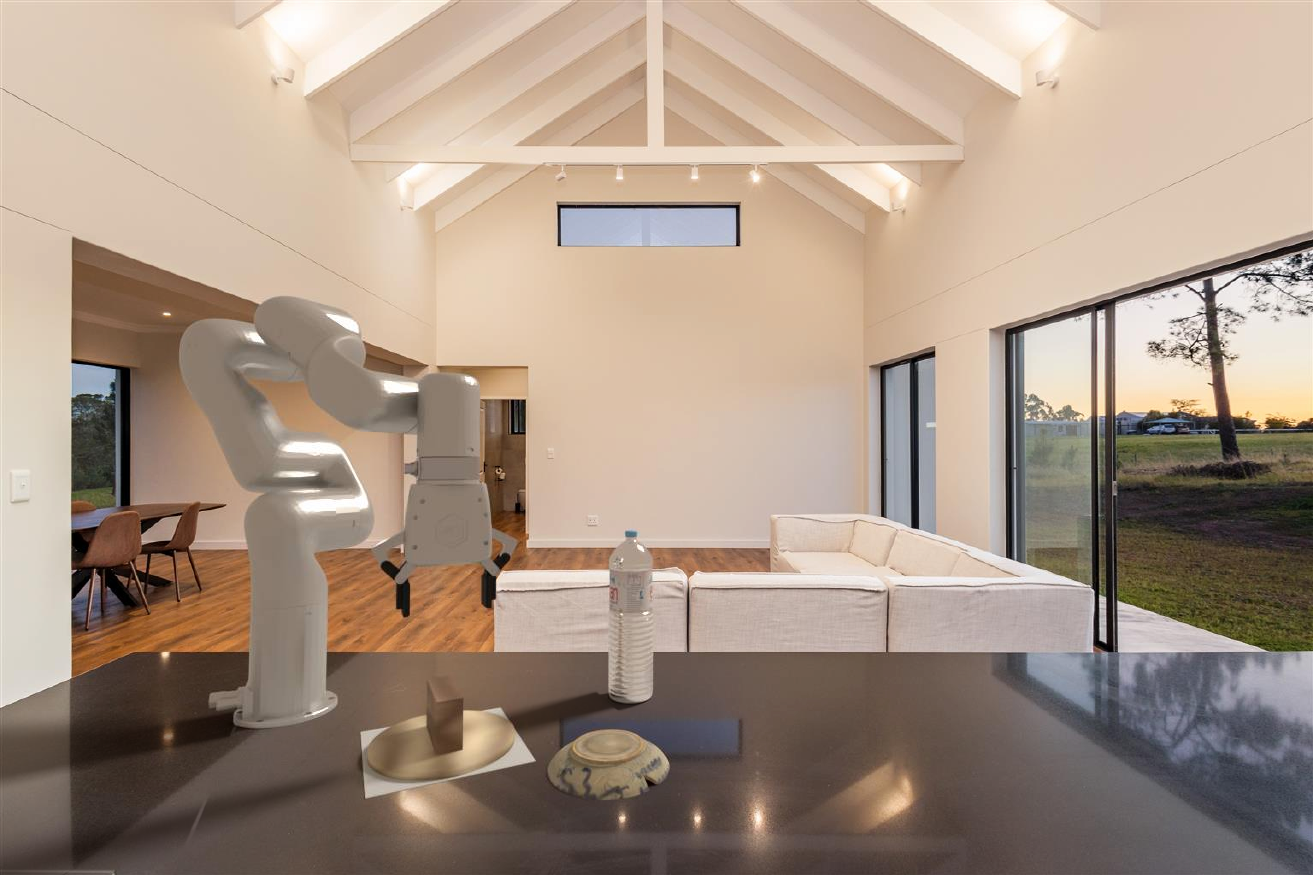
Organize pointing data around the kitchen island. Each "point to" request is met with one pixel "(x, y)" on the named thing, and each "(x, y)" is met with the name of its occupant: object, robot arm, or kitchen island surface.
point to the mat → (387, 785)
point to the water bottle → (630, 622)
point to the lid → (441, 739)
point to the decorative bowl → (607, 765)
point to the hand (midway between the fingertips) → (447, 610)
